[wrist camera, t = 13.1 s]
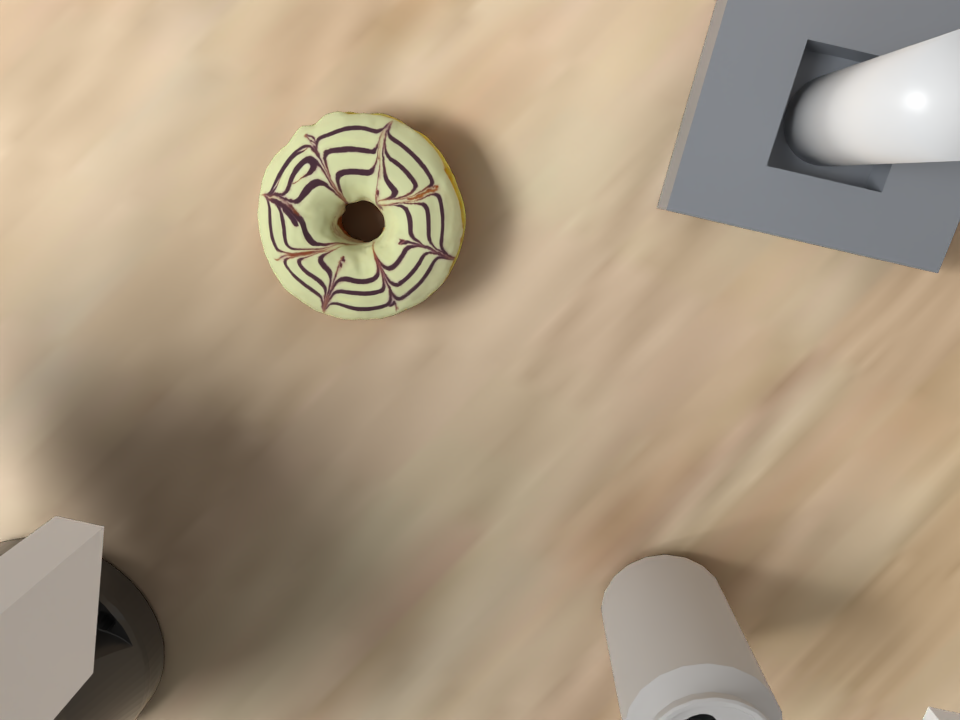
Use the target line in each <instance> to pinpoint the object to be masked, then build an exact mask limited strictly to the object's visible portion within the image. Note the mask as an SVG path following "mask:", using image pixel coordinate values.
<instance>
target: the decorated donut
mask: <svg viewBox="0 0 960 720" xmlns="http://www.w3.org/2000/svg"><path fill="white" fill-rule="evenodd" d="M361 200H365V201H369V202H371V203H373V204H374V205H375V206H377V207H378V209H379V210H380V211H381V213H382V214H383V216H384V221H385V227H384V228H383V232H382V234H381V235H380V236H379V237H378V238H376V239H373V240H372V241H371V242H363V241H361V240H357V239H354V238H352V237H351V236H350V234H348V232H346V231H345V230H344V228H343V225H342V214H344V212H345V210H346V209H345V206H346V205H348V203H354V202H358V201H361ZM258 222H259V232H260V235H261V241H262V244H263V248H264V253H265V255H266V257H267V259H268V261H269V264H270V266H271V268H272V270H273V272H274V274H275V275H276V276H277V278H278V279H279V281H280V283H281V284H282V286H283V287H284V288H285V289H286V290H287V291H288V292H289V293H290V294H292V295H293V296H295V297H296V298H298V299H299V300H300V301H301V302H303V303H304V304H306V305H308V306H309V307H310V308H312V309H314V310H315V311H318V312H321V313H323V314H326V315H331V316H334V317H336V318H341V319H349V320H357V319H363V320H369V319H382V318H385V317H388V316H393V315H395V314H398V313H400V312H402V311H404V310H406V309H409V308H411V307H413V306H415V305H417V304H419V303H421V302H422V301H424V300H425V299H427V298H428V297H429V296H430V295H432V294H433V293H434V292H435V291H436V290H437V289H438V288H439V287H440V286H441V285H442V284H443V283H444V281H445V280H446V279H447V277H448V276H449V274H450V272H451V270H452V268H453V266H454V264H455V262H456V260H457V257H458V255H459V252H460V249H461V246H462V242H463V238H464V232H465V227H466V213H465V207H464V203H463V199H462V196H461V193H460V191H459V188H458V186H457V183H456V180H455V177H454V175H453V174H452V172H451V169H450V167H449V165H448V164H447V162H446V161H445V158H444V157H443V155H442V153H441V152H440V151H439V150H438V149H437V148H436V147H435V145H434V144H433V143H432V142H431V141H430V140H429V138H427V137H426V136H425V135H423V134H422V133H420V132H418V131H416V130H413V129H412V128H410V127H409V126H407V125H406V124H404V123H403V122H402V121H400V120H397V119H396V118H394V117H392V116H388V115H386V114H382V113H380V114H379V113H375V114H367V113H361V114H359V113H354V112H340V111H337V112H333V113H329V114H326V115H325V116H324V117H322V118H321V119H320V120H319V121H318V122H317V123H316V124H314V125H309V126H301V127H300V128H299V129H298V130H297V132H296V133H295V134H294V136H293V137H292V138H291V140H290V141H289V143H288V144H287V145H286V146H285V147H283V148H282V149H281V150H280V151H279V152H278V153H277V154H276V155H275V156H274V158H273V159H272V161H271V163H270V164H269V166H268V167H267V169H266V171H265V174H264V177H263V179H262V184H261V191H260V195H259V206H258Z"/></svg>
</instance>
